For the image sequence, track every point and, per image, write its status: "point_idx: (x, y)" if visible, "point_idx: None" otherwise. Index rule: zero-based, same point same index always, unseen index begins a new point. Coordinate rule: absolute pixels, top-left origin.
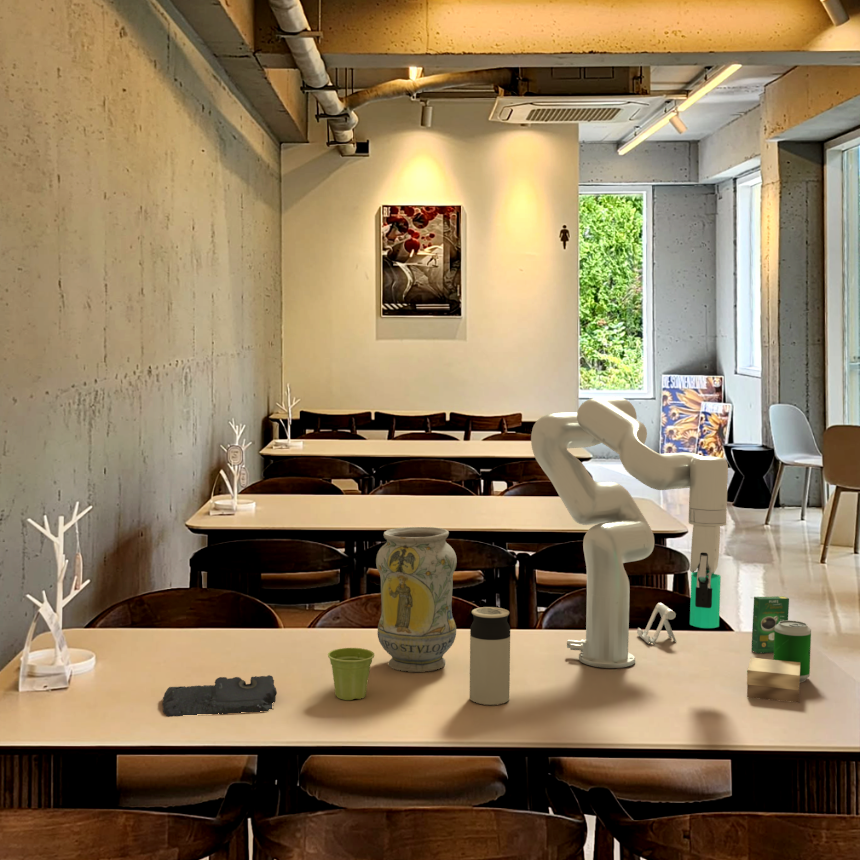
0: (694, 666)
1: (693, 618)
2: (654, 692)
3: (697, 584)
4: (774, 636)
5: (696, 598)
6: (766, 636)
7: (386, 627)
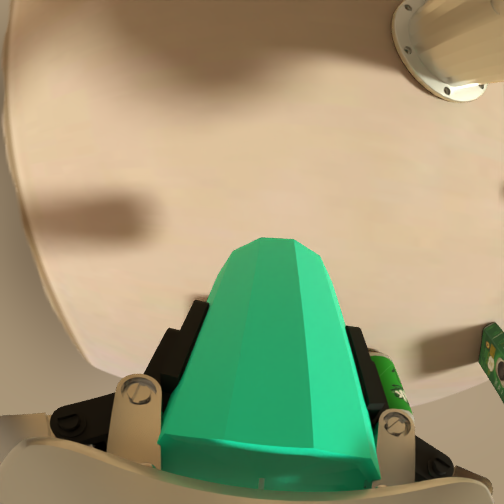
0: (438, 221)
1: (232, 261)
2: (235, 115)
3: (117, 394)
4: (388, 400)
5: (184, 328)
6: (493, 355)
7: None
